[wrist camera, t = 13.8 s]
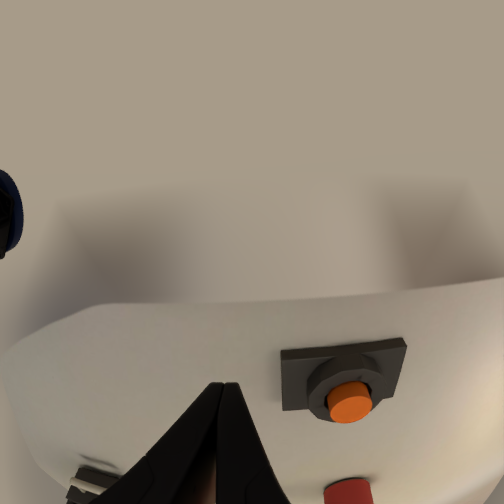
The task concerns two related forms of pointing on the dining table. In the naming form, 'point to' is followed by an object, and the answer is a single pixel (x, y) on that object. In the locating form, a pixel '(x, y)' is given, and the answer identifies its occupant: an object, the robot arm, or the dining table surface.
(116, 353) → the dining table surface
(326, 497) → the beer can
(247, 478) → the robot arm
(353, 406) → the button
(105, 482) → the drawer
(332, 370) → the control block
